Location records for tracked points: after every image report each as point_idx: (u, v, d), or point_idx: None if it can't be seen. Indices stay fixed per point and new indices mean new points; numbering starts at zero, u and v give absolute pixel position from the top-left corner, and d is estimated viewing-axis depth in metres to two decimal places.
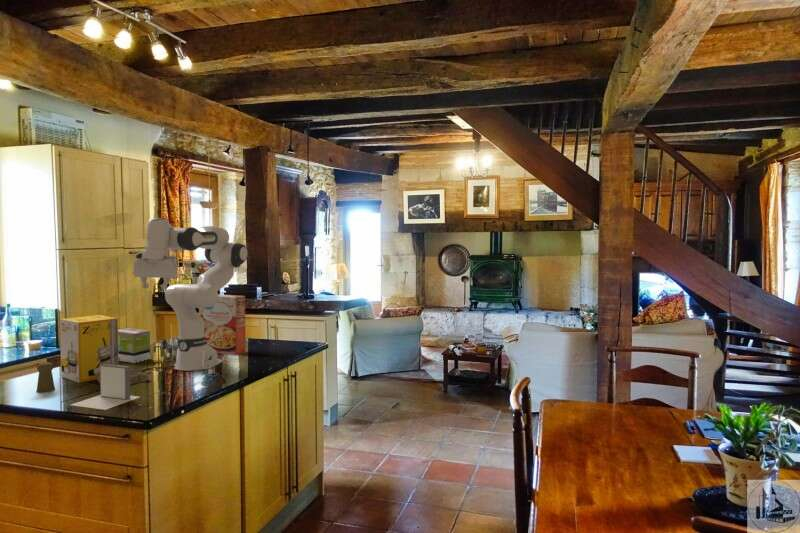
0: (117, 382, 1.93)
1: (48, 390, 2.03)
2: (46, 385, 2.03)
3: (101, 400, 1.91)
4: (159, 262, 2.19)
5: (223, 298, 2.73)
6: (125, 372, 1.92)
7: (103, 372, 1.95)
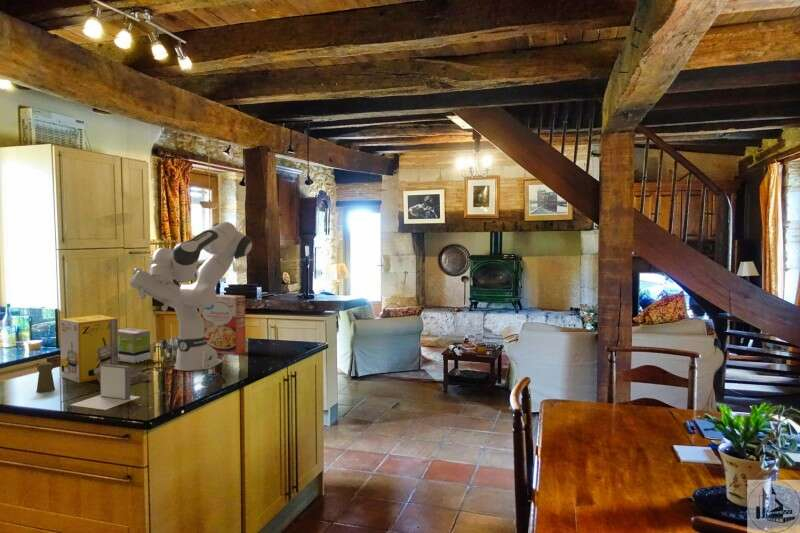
0: (117, 382, 1.93)
1: (48, 390, 2.03)
2: (46, 385, 2.03)
3: (101, 400, 1.91)
4: None
5: (223, 298, 2.73)
6: (125, 372, 1.92)
7: (103, 372, 1.95)
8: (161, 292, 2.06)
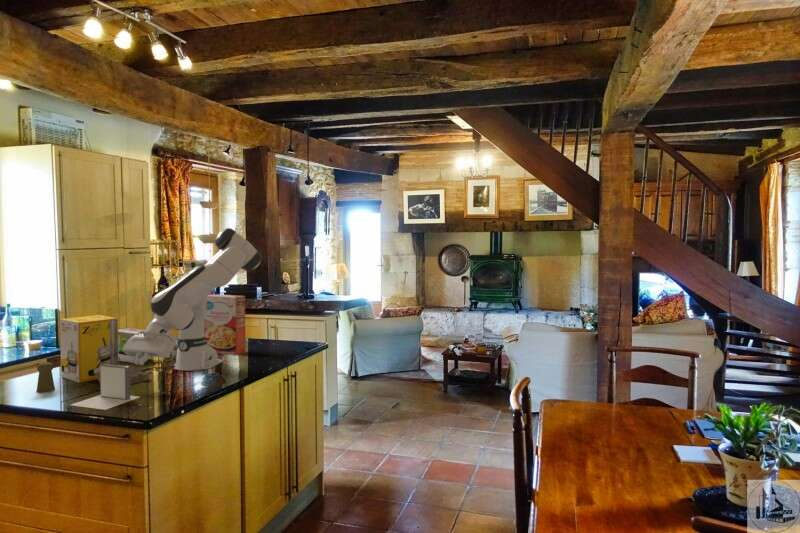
0: (117, 382, 1.93)
1: (48, 390, 2.03)
2: (46, 385, 2.03)
3: (101, 400, 1.91)
4: None
5: (223, 298, 2.73)
6: (125, 372, 1.92)
7: (103, 372, 1.95)
8: (146, 348, 2.06)
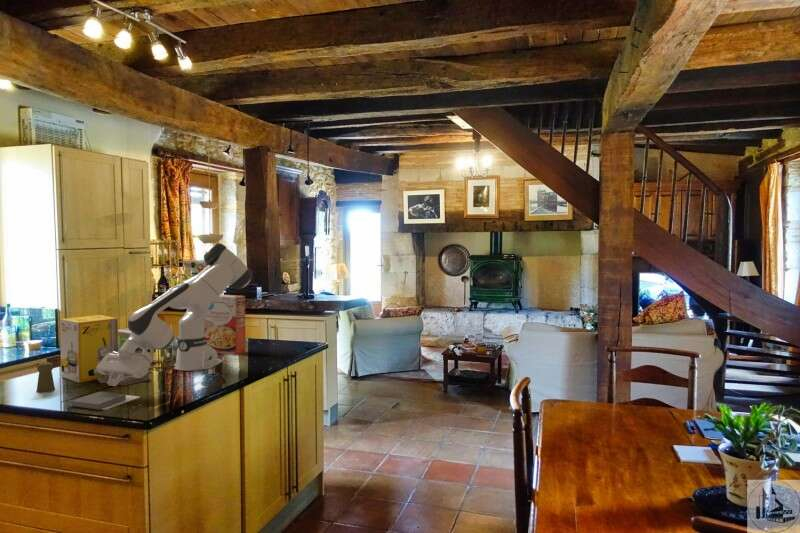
0: None
1: (48, 390, 2.03)
2: (46, 385, 2.03)
3: None
4: None
5: (223, 298, 2.73)
6: (102, 407, 1.83)
7: None
8: (120, 368, 1.95)
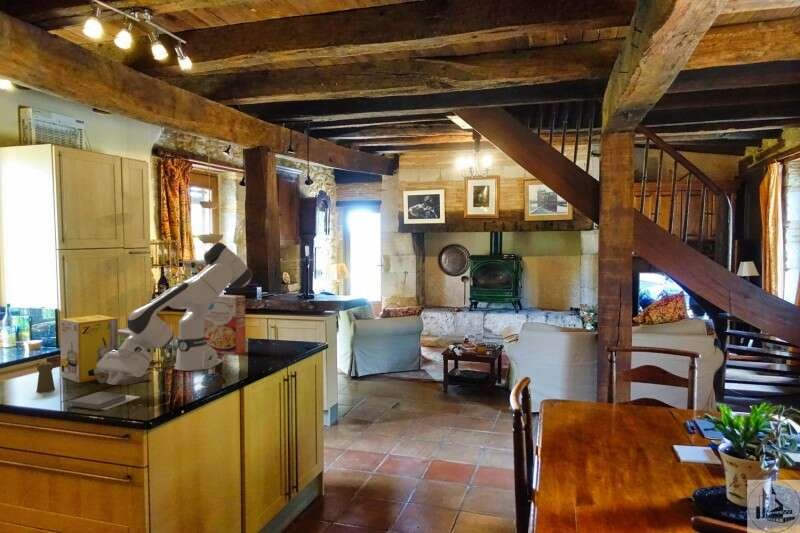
0: None
1: (48, 390, 2.03)
2: (46, 385, 2.03)
3: None
4: None
5: (223, 298, 2.73)
6: (102, 407, 1.83)
7: None
8: (119, 367, 1.96)
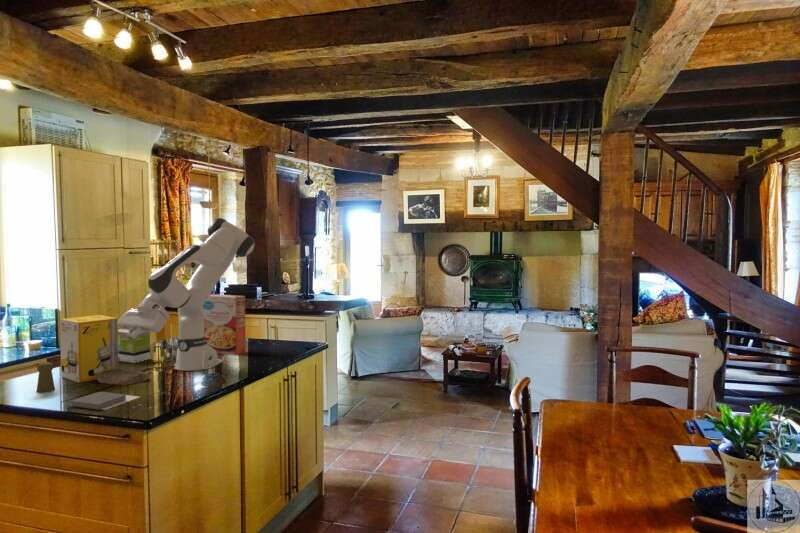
0: None
1: (48, 390, 2.03)
2: (46, 385, 2.03)
3: None
4: None
5: (223, 298, 2.73)
6: (102, 407, 1.83)
7: None
8: (138, 323, 2.08)
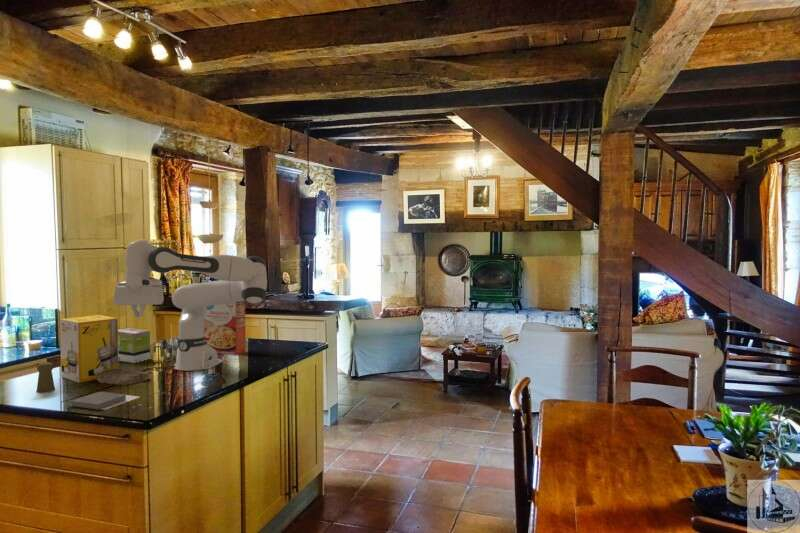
0: None
1: (48, 390, 2.03)
2: (46, 385, 2.03)
3: None
4: None
5: None
6: (102, 407, 1.83)
7: None
8: (137, 301, 2.07)
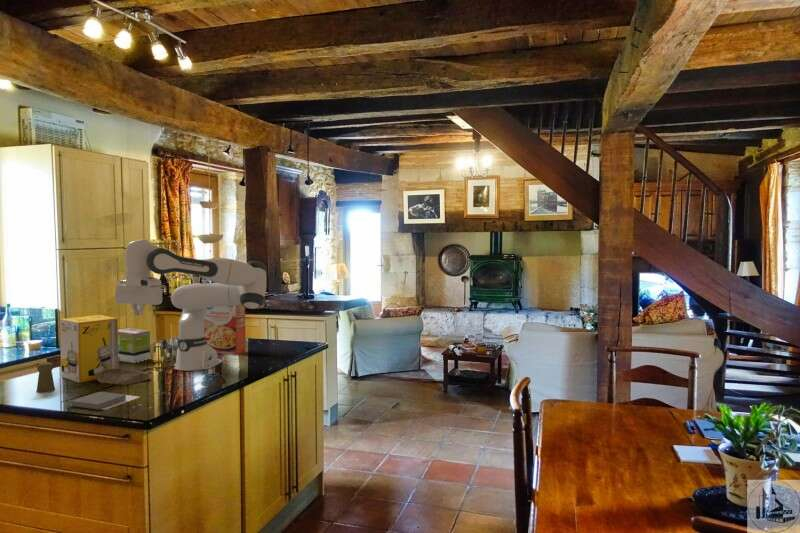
0: None
1: (48, 390, 2.03)
2: (46, 385, 2.03)
3: None
4: None
5: None
6: (102, 407, 1.83)
7: None
8: (137, 300, 2.08)
